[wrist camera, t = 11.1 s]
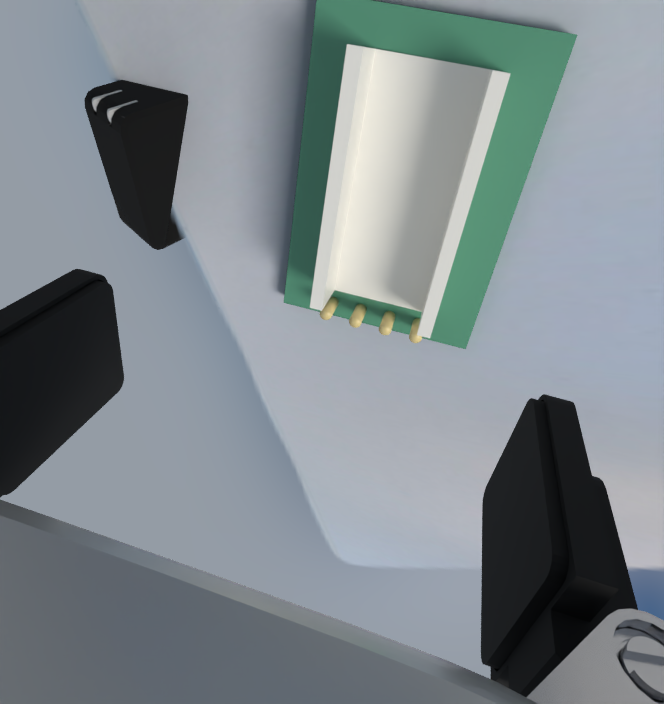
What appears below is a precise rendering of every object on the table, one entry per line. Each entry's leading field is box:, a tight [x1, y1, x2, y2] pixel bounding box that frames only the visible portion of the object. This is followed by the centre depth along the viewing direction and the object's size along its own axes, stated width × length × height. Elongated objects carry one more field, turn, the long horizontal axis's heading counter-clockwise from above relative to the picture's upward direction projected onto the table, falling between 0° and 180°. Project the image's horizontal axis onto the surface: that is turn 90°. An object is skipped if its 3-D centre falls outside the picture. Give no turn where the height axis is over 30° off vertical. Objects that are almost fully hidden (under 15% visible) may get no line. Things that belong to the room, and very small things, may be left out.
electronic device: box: [85, 80, 188, 250], centre depth 35 cm, size 4×10×10 cm
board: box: [284, 0, 577, 349], centre depth 28 cm, size 18×13×4 cm
